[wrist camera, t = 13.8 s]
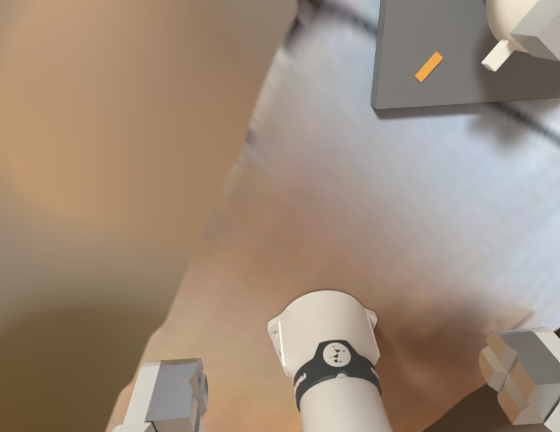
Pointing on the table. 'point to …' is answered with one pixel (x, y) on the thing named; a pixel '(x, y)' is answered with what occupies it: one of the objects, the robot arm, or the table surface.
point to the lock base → (449, 58)
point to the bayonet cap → (523, 29)
